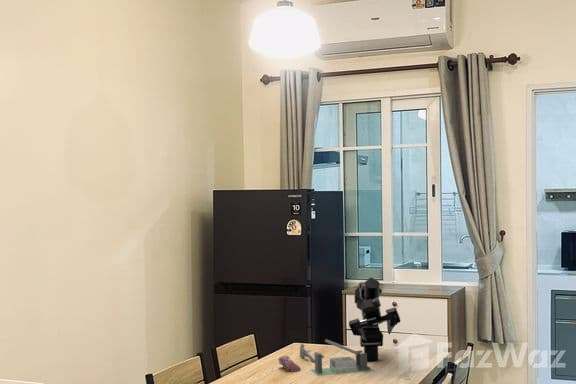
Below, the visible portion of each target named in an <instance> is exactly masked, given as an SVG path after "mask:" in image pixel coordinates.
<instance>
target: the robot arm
mask: <svg viewBox="0 0 576 384" xmlns="http://www.w3.org/2000/svg"><path fill="white" fill-rule="evenodd" d="M380 285H381V283H380V281H378V279H375V277H368V279H367V280H366V281H362V282H359V283H358V287H356V289H355V290H354V294H353V295H354V298H353V299H354V300H353V301H354V304H355V305H356V308H357V309H358V310H360V312H361V317H362V320H360V318H355V319H352V320H349V322H348V327H349V328H350V331H351V332H352V336H353V335H354V336H356V337H357V336H359V345H360V348H363V353H367V363H372V362H373V363H374V362H381V361H382V360H381V359H380V358H379V347H383V346H384V334H383V331H382V330H381V329H380V325H381V324H383V323H385V322H386V326H387V328H386V330H387V333H388V335H391V333H392V331H393V329H394V328H395V326H397V325H398V324H399V323H401V316H400V314H399V312H398V310H397V308H396V307H391V308H389V309H385V315H382V311H381V308H380V307H381V306H382V304H381V302H380V296H381V294H382V293H383V289H381V287H380Z"/></svg>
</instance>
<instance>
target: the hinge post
mask: <svg viewBox="0 0 576 384" xmlns="http://www.w3.org/2000/svg"><path fill="white" fill-rule="evenodd" d="M356 351H357V352H361V353H360V356H358V355H356V354H355V360H356V368H357V369H358V370H360V371H361V370H370V368H371V367H370V366H368V362H367V353H364V352H363V350H356Z"/></svg>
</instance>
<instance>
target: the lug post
mask: <svg viewBox="0 0 576 384" xmlns="http://www.w3.org/2000/svg"><path fill="white" fill-rule="evenodd" d="M314 357H315V363H314V369H315V371H316V372H317V373H322V369H323V359H324V357H325V355H324V354H322V353H321V352H319V351H318V352H317V351H316V352H314Z"/></svg>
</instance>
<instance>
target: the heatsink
mask: <svg viewBox="0 0 576 384" xmlns="http://www.w3.org/2000/svg"><path fill="white" fill-rule="evenodd" d="M329 368H330V369H331V370H333V371H334V372H335V373H341V374H344V373H343V372H352V373H355V372H354V371H357V368H356V359H355V358H352V357H351V356H341V357H340V356H339V357H331V358H329Z"/></svg>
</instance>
